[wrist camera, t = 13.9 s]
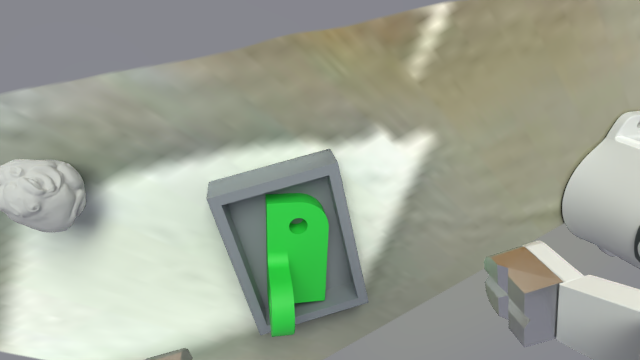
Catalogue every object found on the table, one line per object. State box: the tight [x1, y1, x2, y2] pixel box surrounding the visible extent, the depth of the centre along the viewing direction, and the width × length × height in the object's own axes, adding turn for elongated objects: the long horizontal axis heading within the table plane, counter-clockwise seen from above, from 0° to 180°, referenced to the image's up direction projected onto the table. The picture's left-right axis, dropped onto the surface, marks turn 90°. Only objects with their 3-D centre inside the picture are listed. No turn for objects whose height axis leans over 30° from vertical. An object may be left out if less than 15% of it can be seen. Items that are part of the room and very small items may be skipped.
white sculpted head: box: [0, 159, 86, 232], centre depth 34 cm, size 6×7×7 cm
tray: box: [207, 149, 368, 335], centre depth 43 cm, size 12×17×4 cm
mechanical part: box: [265, 193, 329, 337], centre depth 40 cm, size 12×6×8 cm, turn 178°
